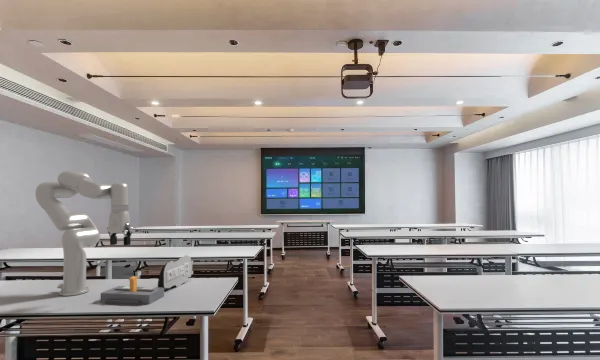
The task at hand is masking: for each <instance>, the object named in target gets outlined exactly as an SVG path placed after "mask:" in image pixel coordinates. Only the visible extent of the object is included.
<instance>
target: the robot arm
mask: <svg viewBox="0 0 600 360" xmlns="http://www.w3.org/2000/svg"><path fill="white" fill-rule="evenodd" d="M77 194H80V196H83V197H85V198H88V199H90V200H91V199H92V200H110V213H109V217H108V226H107V227H106V229H107V233H108V236H109V245H110V246H115V245H117V244H118V236H117V234H123V246H124V247H125V246H130V245H131V237H132V235H133V231H134V227H133V226H132V225H131V219H130V217H131V216H130V212H129V186H128V184H127V183H125V182H117V183H98V182H97V183H96V182H94V181H93V179H92V177H90V175H89V174H88V173H87V172H84V171H76V170H75V171H74V170H65V171H62V172H61V173H59V174H58V175H57V181H46V182H42V183H40V184H38V185H37V187H36V188H35V194H34V195H35V200H36V202H37V204H38V205H39V206H40V207H41V209H42V210H44V212H45V213H46V214H47V216H48V217H49V219H50V220H51V222H52V223H53V225H54V226H55V228H56V230H58V231H60V232H64V233H63V234H62V235H61V244H62V245H61V246H62V250H63V274H62V275H63V277H62V278H63V279H62V283H59V284H58V285H57V286H56V287H57V288H56V289H61V290H60V291H58V295H59V296H62V297H65V296H66V297H70V296H76V295H77V296H78V295H82V294H85V293H88V292H89V291H90V287H88V286H87V253H86V252H85V250H84V247H89V246H94V245H96V244H97V243H99V242H100V239H101V235H100V234H101V233H100V231H99V229H98V227H97V226H96V224H95V223H94V222H93V220H92V219H91V218H90V216H89V215H88V214H87V213H85V212H82V211H75V212H74V211H70V210H69V209H68V208H67V206H66V205H65V204H64V203H63V202H62V201H60V200H58V199H70V198H72V197H75V196H76V195H77Z"/></svg>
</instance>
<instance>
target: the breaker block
mask: <svg viewBox="0 0 600 360" xmlns="http://www.w3.org/2000/svg"><path fill="white" fill-rule="evenodd" d="M163 297H165V288H162V287H158V286H157V287H153V286H137V291H130V285H129V286H128V285H126V286H124V285H118V286H115V287H112V288H111V289H108V290H105V291H103V292H100V303H105V300H107V299H114V300H137V301H140V305H151V304H152V303H154V302H156V301H158V300H160V299H162V298H163Z"/></svg>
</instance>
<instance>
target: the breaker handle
mask: <svg viewBox="0 0 600 360" xmlns="http://www.w3.org/2000/svg"><path fill="white" fill-rule="evenodd" d="M128 281H129V286H130V291H137V287H138V276H135V275H133V276H131V277H129V278H128Z"/></svg>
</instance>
